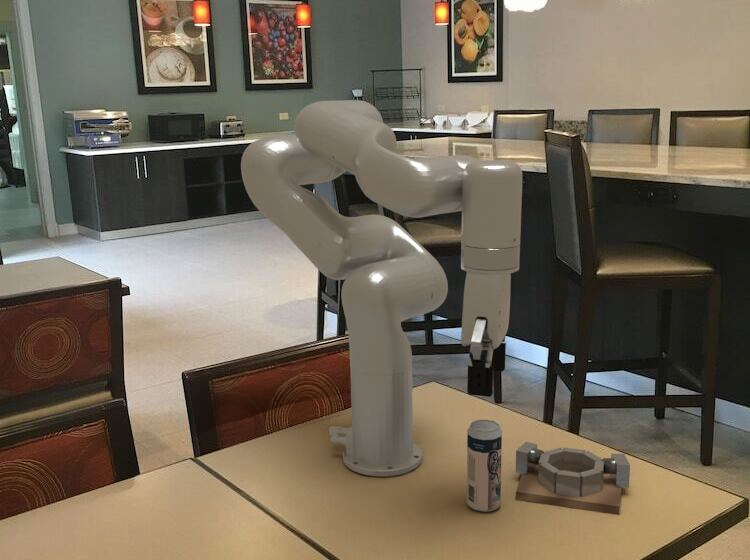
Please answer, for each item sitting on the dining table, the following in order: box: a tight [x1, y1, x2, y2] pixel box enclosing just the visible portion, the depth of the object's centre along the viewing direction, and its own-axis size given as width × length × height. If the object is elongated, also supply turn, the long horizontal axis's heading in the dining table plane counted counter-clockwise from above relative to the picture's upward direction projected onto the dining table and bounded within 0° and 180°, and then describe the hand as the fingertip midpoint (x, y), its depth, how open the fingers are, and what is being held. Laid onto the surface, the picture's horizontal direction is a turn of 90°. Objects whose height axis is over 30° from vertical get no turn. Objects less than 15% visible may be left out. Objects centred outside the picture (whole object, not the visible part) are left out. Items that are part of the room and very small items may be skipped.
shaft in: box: [515, 441, 545, 475], centre depth 117 cm, size 3×4×4 cm
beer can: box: [466, 419, 503, 513], centre depth 109 cm, size 5×5×12 cm
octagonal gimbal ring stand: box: [515, 447, 622, 515], centre depth 114 cm, size 14×11×4 cm
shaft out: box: [602, 453, 631, 489], centre depth 114 cm, size 3×4×4 cm
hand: (486, 381), depth 106 cm, fingers open, 9 cm apart
